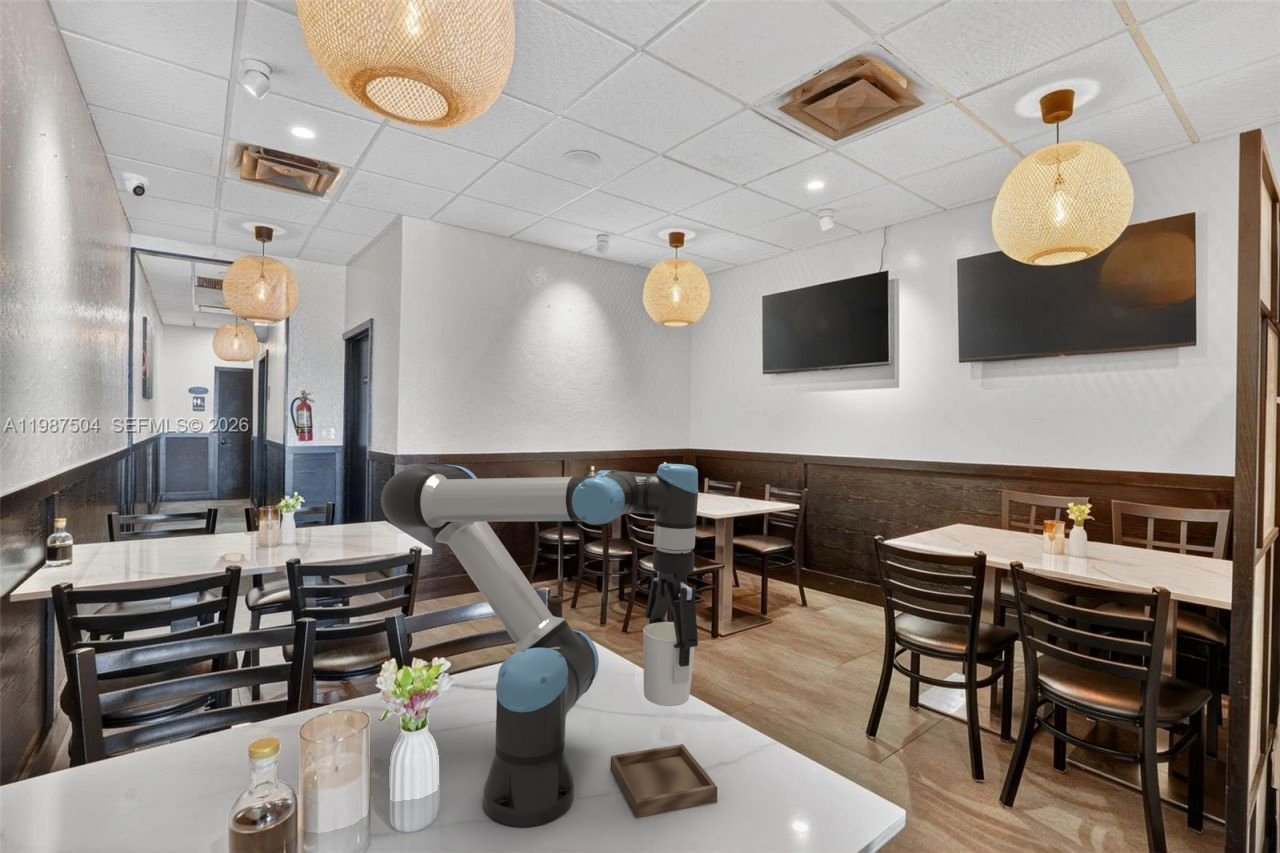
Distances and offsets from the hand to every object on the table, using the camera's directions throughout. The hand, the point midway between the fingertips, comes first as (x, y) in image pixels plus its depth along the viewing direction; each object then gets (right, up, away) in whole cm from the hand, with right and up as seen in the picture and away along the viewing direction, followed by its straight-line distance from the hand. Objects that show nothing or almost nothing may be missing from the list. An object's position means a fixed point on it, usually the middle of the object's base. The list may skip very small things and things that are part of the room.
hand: (667, 670), depth 109 cm
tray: (-1, -19, -3) cm, 19 cm away
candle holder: (0, -5, 0) cm, 5 cm away
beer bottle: (-25, -19, +29) cm, 43 cm away
